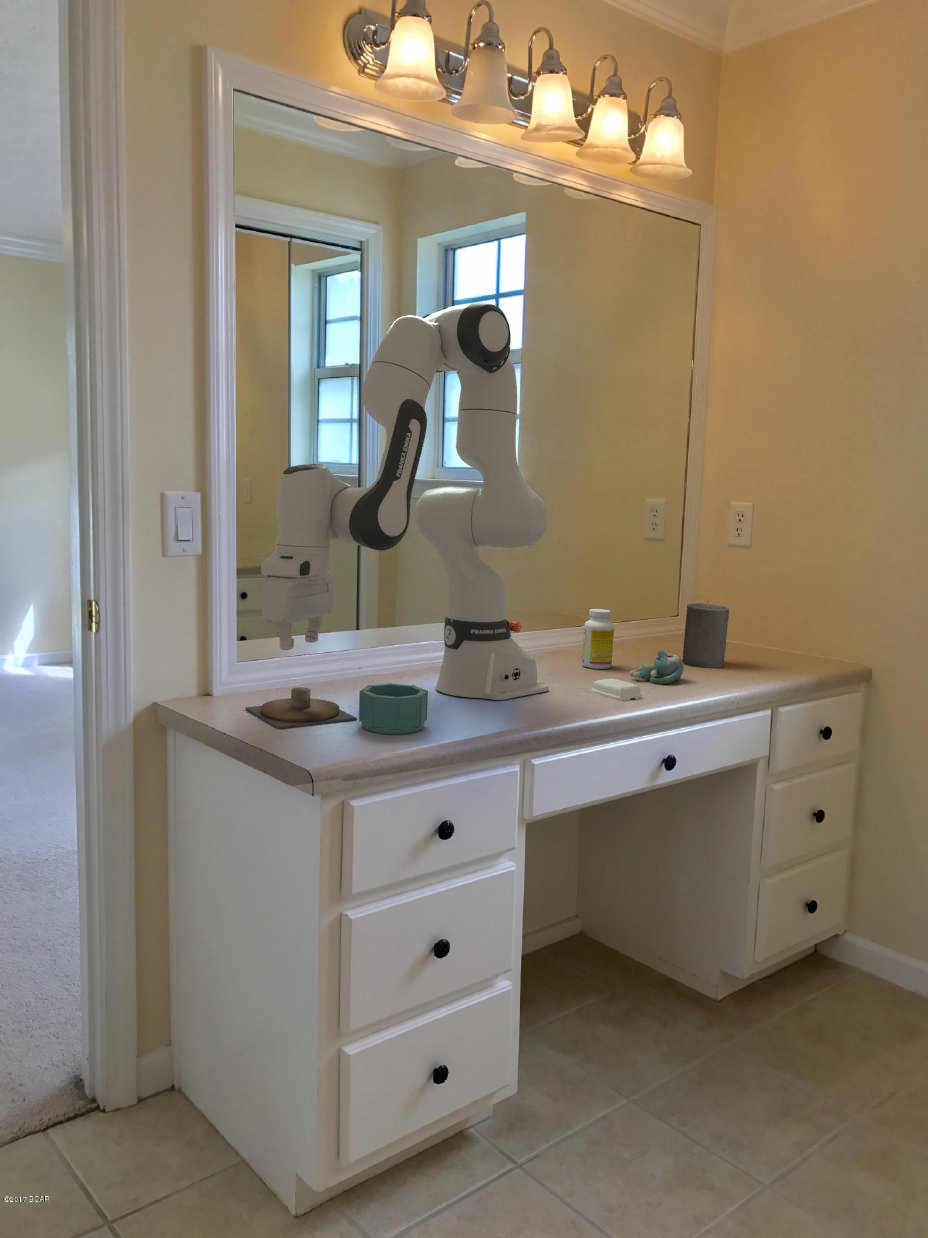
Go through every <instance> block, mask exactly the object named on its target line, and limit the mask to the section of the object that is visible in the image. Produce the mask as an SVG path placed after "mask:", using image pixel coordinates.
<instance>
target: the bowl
mask: <svg viewBox="0 0 928 1238" xmlns="http://www.w3.org/2000/svg"><path fill="white" fill-rule="evenodd" d="M428 695H429V691H428V689H424V688H422V687H419V686H416V685H412V684H403V683H402V684H400V683H392V682H391V683H388V682H387V683H381V684H380V683H378V684H370V685H369V684H368V685H366V686H365V687H364V688H361V690H359V700H358V701H359V702H358V705H359V706H358V721H359V722H361V728H362V729H364V730H365V731H366V732H370V733H374V734H381V735H387V736H388V735H391V736H392V735H393V736H396V735H397V736H401V735H409V734H410V735H411V734H416V733H419V732H421V731H423V730H424V728H425V723H426V721H427V720H428V704H429V703H428V702H429V701H428V700H429V697H428Z"/></svg>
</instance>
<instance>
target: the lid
mask: <svg viewBox="0 0 928 1238" xmlns="http://www.w3.org/2000/svg"><path fill="white" fill-rule="evenodd" d="M290 692H291V693H290V694H291V695H290V698H289V697H288V698H279V699H274V700H269V701H266V702H264V703H263V704H262V705H260V706H261V714H262V715H263V716H264V717H266V718H269V719H273V720H278V721H285V722H317V721H324V720H328V719H332V718H335V717H336V716H338V715H339V709H340V706H339V704H337V703H335V702H334V701H329V700H326V699H318V698H312V697H311V693H312V691H311V689H310V688H308V687H303V686H302V687H301V686H300V687H299V686H298V687H292V688H291V691H290Z"/></svg>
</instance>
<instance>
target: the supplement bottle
mask: <svg viewBox="0 0 928 1238" xmlns="http://www.w3.org/2000/svg"><path fill="white" fill-rule="evenodd" d="M588 615H589V620H587V621H585V622H584V625H583V638H582V639H583V640H582V642H583V643H582V653H581V654H582V657H581V659H582V660H581V663H582V666H583V667H584V668H588V669H592V670H593V669H594V670H607V669H608V670H609V669H610V668H612V664H613V648H614V634H615V633H614V632H615V626H614V624H613V622H611V621H610V617H611V610H609V609H602V608H591V609H589V612H588Z"/></svg>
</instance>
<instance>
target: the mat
mask: <svg viewBox="0 0 928 1238" xmlns="http://www.w3.org/2000/svg"><path fill="white" fill-rule="evenodd" d="M261 706H262V705H257V706H256V705H254V706H246V707H245V711H247V712H249V713H250V714H251V715H254V716H255V717H257V718H259V719H260V720H262V721H264V722H265V723H267V724H269V725H270V726H272V727H274V728H276V729H277V730H282V729H283V730H284V729H291V728H300V727H301V728H302V727H309V726H319V725H325V724H326V725H327V724H336V723H343V722H353V721H357V720H358V717H356V716H354V715H352V714H350V713H348V712H346V711H343V710H342V709H340V708H339V715H338V716H336V717H335V718H332V719H328V720H324V721H317V722H285V721H278V720H273V719H269V718H266V717H264V716H263V715H262V714H261Z"/></svg>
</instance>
